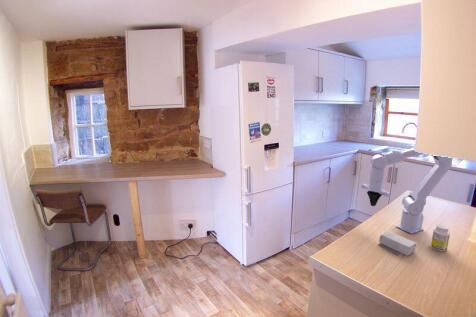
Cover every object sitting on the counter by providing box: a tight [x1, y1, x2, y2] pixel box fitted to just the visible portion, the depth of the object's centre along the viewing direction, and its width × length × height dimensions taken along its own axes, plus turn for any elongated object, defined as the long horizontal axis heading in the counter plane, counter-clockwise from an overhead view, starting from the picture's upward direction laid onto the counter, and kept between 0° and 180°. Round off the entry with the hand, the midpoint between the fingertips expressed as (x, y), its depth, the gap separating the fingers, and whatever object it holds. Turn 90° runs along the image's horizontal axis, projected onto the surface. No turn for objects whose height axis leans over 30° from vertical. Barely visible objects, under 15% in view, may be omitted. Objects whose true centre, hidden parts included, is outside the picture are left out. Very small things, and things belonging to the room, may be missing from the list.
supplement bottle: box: [430, 224, 451, 252], centre depth 113 cm, size 6×6×10 cm
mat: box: [377, 243, 402, 256], centre depth 115 cm, size 9×8×1 cm
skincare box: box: [378, 230, 417, 256], centre depth 114 cm, size 6×4×12 cm
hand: (373, 205), depth 132 cm, fingers closed
